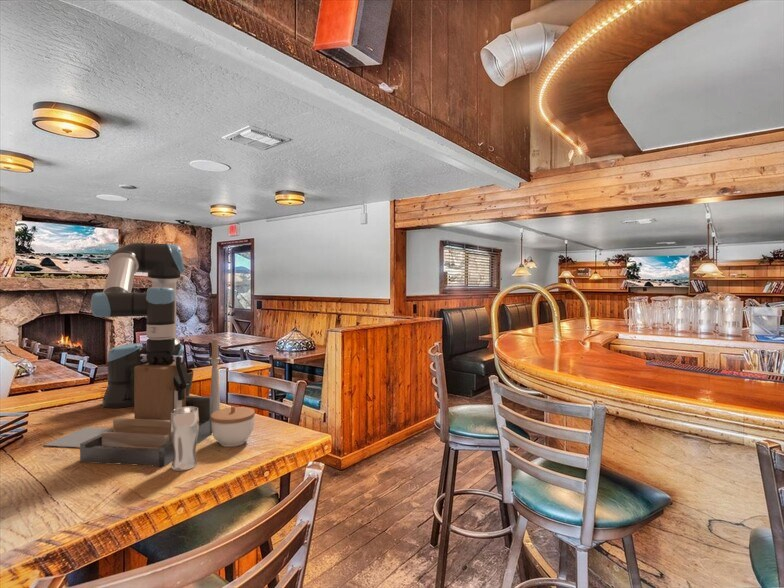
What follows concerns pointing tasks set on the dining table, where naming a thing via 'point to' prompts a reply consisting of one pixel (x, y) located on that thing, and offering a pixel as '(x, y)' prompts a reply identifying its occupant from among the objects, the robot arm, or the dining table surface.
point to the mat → (77, 437)
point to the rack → (146, 456)
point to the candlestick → (215, 377)
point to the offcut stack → (137, 433)
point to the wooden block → (155, 391)
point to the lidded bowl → (232, 425)
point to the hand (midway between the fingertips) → (160, 409)
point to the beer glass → (184, 437)
